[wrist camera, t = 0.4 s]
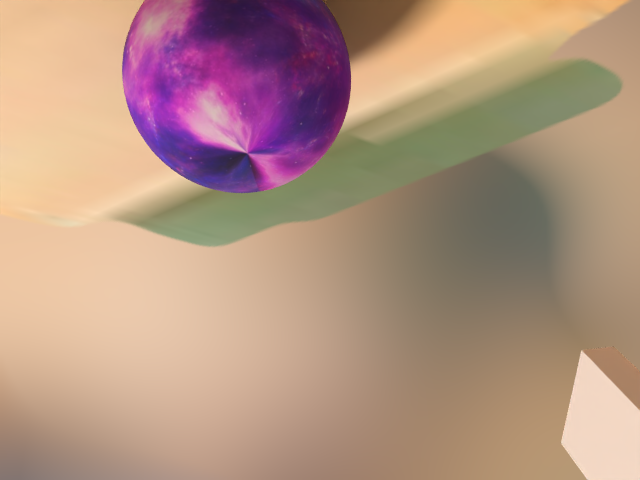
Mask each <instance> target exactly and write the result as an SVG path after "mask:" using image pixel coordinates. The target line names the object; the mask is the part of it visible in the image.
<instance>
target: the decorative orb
mask: <svg viewBox="0 0 640 480" xmlns="http://www.w3.org/2000/svg"><path fill="white" fill-rule="evenodd" d="M122 74H123V86H124V93H125V97H126V101H127V105H128V108H129V111H130V114H131V116H132V119H133V121H134V123H135V125H136V127H137V129H138V131H139V133H140V134H141V136H142V137H143V139H144V140H145V142H146V143H147V145H148V146H149V147H150V148H151V150H152V151H153V152H154V153H155V154H156V155H157V156H158V157H159V158H160V159H161V160H162V161H163V162H164V163H165V164H166V165H167V166H169V167H170V168H171V169H172V170H174V171H175V172H177V173H178V174H180V175H181V176H183V177H185V178H186V179H188V180H190V181H192V182H194V183H197V184H199V185H202V186H204V187H208V188H211V189H215V190H219V191H225V192H233V193H251V192H259V191H264V190H268V189H272V188H275V187H278V186H281V185H283V184H286V183H288V182H290V181H292V180H294V179H296V178H297V177H299V176H300V175H302V174H303V173H305V172H306V171H308V170H309V169H310V168H311V167H312V166H314V165H315V164H316V163H317V162H318V161H319V160H320V159H321V158H322V157H323V155H324V154H325V153H326V152H327V150H328V149H329V148H330V146H331V145H332V143H333V142H334V140H335V139H336V137H337V135H338V133H339V131H340V129H341V127H342V124H343V122H344V119H345V116H346V112H347V109H348V104H349V99H350V91H351V69H350V61H349V55H348V51H347V47H346V43H345V41H344V38H343V35H342V32H341V30H340V28H339V26H338V24H337V22H336V20H335V18H334V16H333V15H332V13H331V12H330V10H329V9H328V7H327V6H326V5H325V3H324V2H323V1H322V0H145V1H144V2H143V4H142V5H141V7H140V9H139V10H138V12H137V14H136V16H135V18H134V20H133V22H132V24H131V27H130V30H129V32H128V35H127V39H126V42H125V47H124V53H123V65H122Z"/></svg>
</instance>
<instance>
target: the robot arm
mask: <svg viewBox="0 0 640 480" xmlns="http://www.w3.org/2000/svg"><path fill="white" fill-rule="evenodd" d="M561 444H562V445H563V446H564V448H565V449H566V450H567V452H568V453H569V455H570V456H571V457H572V459H573V460H574V462H575V463H576V464H577V466H578V467H579V469H580V470H581V471H582V473H583V474H584V476H585V477H586V478H587V480H640V371H639V370H638V369H637V368H636V367H635V366H634V365H633V364H632V363H631V362H629V361H628V360H627V359H626V358H625V357H624V356H623V355H622V354H621V353H620V352H619V351H618V350H617V349H616V348H615V347H605V348H596V349H587V350H582V351H581V355H580V360H579V364H578V369H577V374H576V378H575V382H574V387H573V392H572V396H571V401H570V405H569V409H568V414H567V419H566V424H565V428H564V433H563V437H562V441H561Z"/></svg>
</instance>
